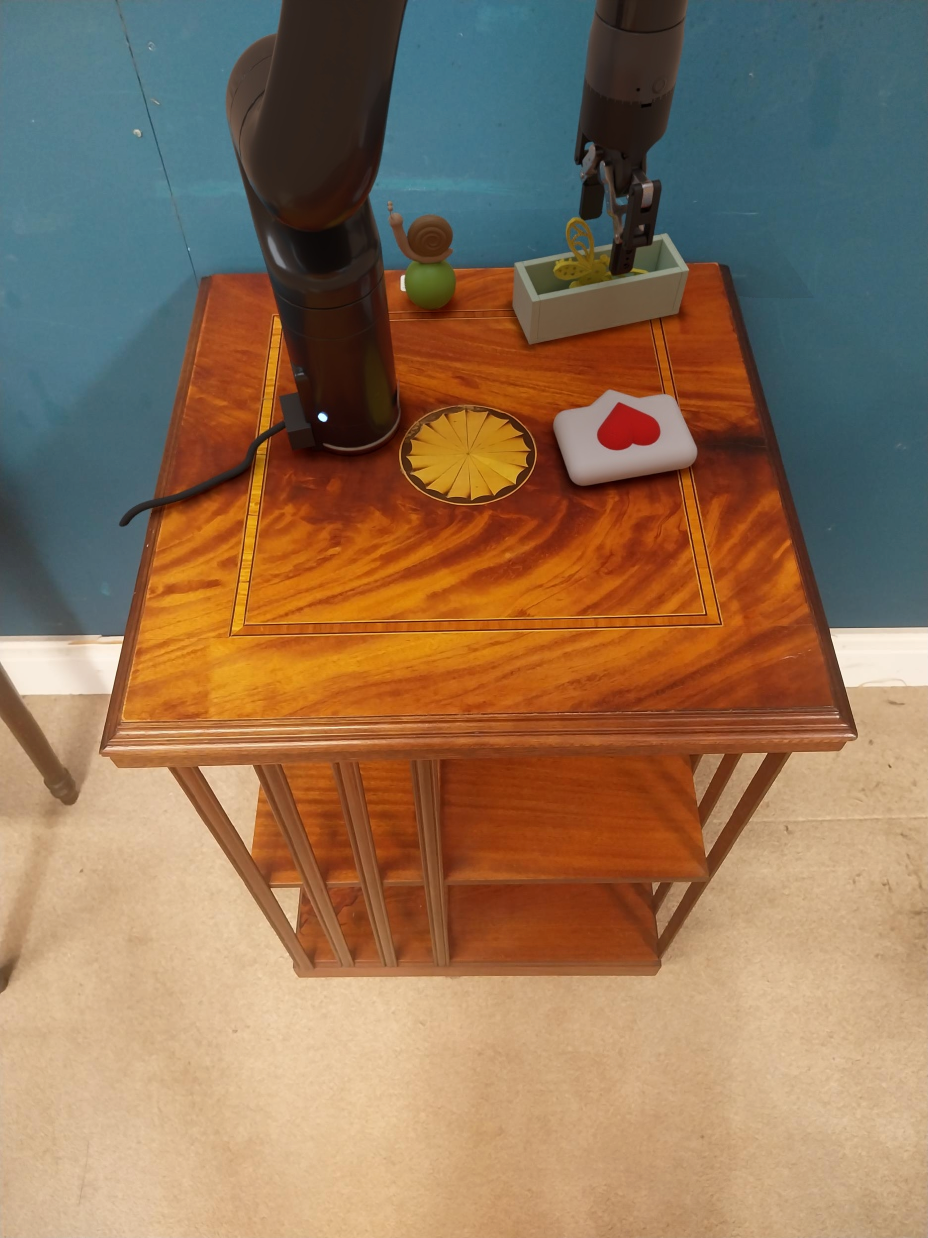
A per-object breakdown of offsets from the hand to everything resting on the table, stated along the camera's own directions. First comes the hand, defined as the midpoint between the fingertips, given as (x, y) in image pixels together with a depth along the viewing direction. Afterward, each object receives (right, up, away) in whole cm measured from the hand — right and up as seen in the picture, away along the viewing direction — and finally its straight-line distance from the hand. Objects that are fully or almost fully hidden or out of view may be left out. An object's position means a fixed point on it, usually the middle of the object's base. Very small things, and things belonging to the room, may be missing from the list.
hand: (604, 244), depth 84 cm
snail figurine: (-18, -3, +8) cm, 20 cm away
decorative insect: (0, -4, +6) cm, 8 cm away
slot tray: (0, -4, +7) cm, 8 cm away
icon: (+1, -20, -2) cm, 20 cm away
